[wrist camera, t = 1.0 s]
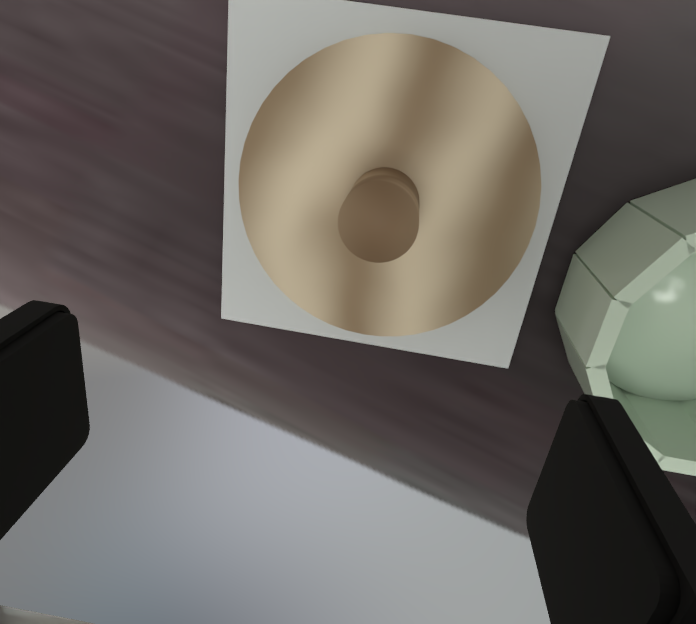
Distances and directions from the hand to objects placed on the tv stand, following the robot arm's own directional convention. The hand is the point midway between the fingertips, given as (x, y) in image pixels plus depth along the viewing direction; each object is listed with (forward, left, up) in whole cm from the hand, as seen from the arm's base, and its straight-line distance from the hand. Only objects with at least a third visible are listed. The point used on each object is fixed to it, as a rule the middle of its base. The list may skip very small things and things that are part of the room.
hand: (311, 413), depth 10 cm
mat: (0, 0, -19) cm, 19 cm away
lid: (0, 0, -19) cm, 19 cm away
